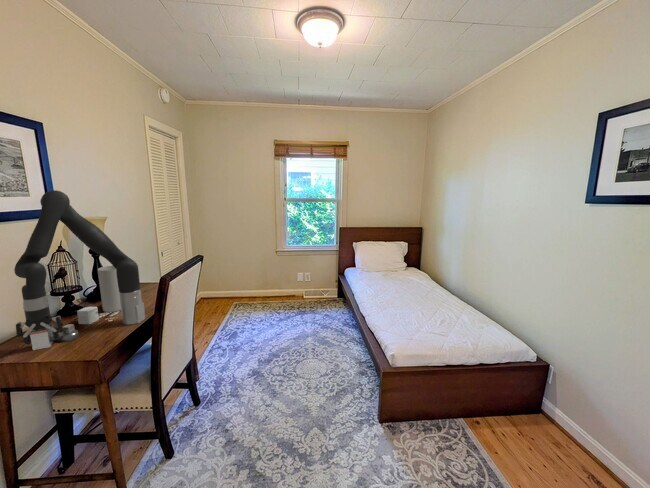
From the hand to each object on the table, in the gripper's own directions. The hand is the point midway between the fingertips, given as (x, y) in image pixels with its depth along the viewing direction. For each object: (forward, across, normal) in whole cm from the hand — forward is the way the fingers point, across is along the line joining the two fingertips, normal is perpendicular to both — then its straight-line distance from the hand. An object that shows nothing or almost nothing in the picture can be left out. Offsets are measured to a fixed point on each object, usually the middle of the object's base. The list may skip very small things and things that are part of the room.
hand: (42, 341), depth 124 cm
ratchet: (+2, -2, -6) cm, 7 cm away
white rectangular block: (+2, 0, 0) cm, 2 cm away
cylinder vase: (+2, -24, -35) cm, 43 cm away
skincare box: (+2, -13, -21) cm, 25 cm away
